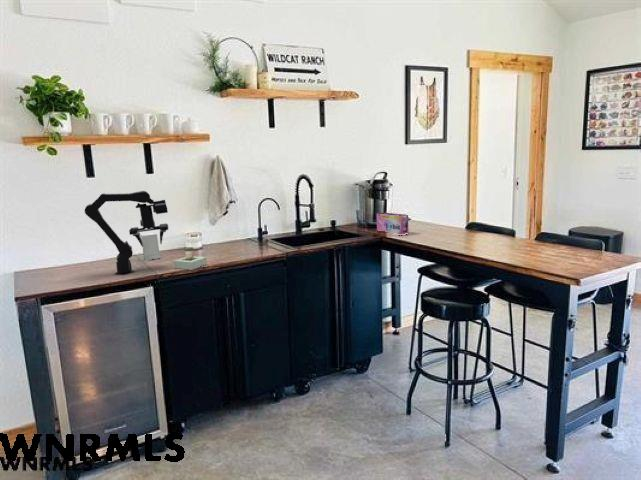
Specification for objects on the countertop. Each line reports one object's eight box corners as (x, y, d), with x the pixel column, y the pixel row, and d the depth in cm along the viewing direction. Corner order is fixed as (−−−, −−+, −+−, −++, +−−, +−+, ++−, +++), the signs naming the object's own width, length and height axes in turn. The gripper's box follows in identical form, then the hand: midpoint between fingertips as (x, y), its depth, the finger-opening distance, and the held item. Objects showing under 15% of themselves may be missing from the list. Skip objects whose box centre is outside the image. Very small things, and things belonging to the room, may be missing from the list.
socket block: (192, 269, 250) (191, 262, 249) (173, 268, 255) (173, 260, 254) (206, 264, 261) (206, 257, 260) (188, 263, 266) (188, 256, 265)
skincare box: (158, 257, 285) (155, 232, 282) (160, 259, 280) (157, 233, 277) (143, 259, 281) (140, 233, 278) (145, 261, 276) (142, 235, 273)
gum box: (410, 235, 324) (410, 214, 322) (402, 236, 320) (402, 216, 317) (384, 231, 343) (384, 212, 340) (376, 233, 338) (376, 213, 336)
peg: (192, 267, 255) (190, 248, 253) (184, 267, 256) (183, 248, 254) (195, 265, 259) (194, 247, 258) (188, 265, 260) (186, 247, 258)
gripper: (166, 211, 259) (171, 240, 262) (129, 216, 255) (134, 245, 258) (165, 213, 249) (170, 243, 252) (126, 218, 244) (132, 249, 247)
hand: (151, 245), depth 252 cm, fingers open, 9 cm apart
